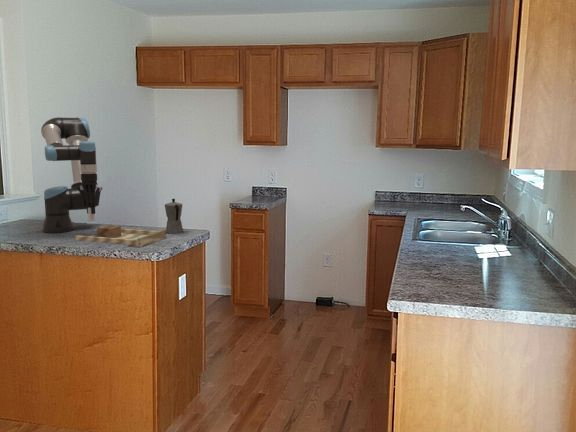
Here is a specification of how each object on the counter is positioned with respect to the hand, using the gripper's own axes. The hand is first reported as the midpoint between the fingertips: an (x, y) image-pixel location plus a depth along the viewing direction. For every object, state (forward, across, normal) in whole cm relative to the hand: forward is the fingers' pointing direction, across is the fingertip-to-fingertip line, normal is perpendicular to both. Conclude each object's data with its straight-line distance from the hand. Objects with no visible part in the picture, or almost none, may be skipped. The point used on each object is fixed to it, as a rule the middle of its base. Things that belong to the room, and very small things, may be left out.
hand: (91, 220), depth 265 cm
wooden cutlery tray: (+9, +17, 0) cm, 19 cm away
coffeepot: (+9, +33, +24) cm, 42 cm away
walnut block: (+8, +10, 0) cm, 12 cm away
